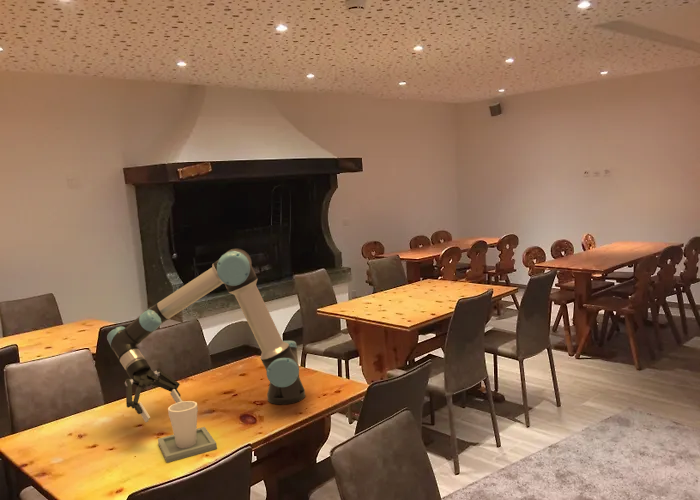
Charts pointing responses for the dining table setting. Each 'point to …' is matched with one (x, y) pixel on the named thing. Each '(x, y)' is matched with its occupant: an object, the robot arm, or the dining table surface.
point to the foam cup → (184, 422)
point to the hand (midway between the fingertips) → (165, 412)
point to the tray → (175, 453)
